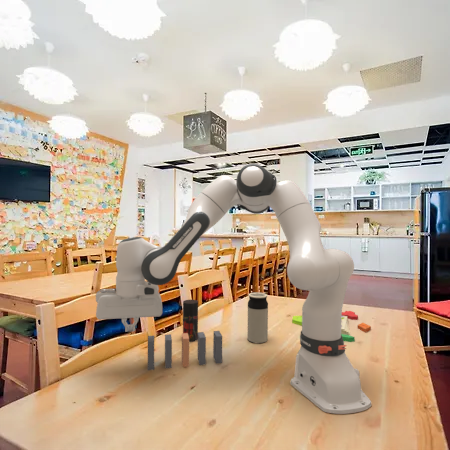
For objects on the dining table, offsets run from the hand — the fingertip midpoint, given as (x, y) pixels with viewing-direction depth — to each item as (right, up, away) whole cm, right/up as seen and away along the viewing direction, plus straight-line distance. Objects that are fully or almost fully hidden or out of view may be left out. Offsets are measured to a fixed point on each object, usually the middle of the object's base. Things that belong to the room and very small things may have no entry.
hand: (130, 330), depth 99 cm
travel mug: (+43, -12, +24) cm, 51 cm away
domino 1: (+6, -12, +1) cm, 13 cm away
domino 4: (+23, -12, +5) cm, 26 cm away
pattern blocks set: (+78, -12, +42) cm, 90 cm away
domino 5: (+28, -12, +6) cm, 31 cm away
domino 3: (+17, -12, +4) cm, 21 cm away
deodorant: (+17, -12, +24) cm, 31 cm away
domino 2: (+12, -12, +2) cm, 17 cm away
